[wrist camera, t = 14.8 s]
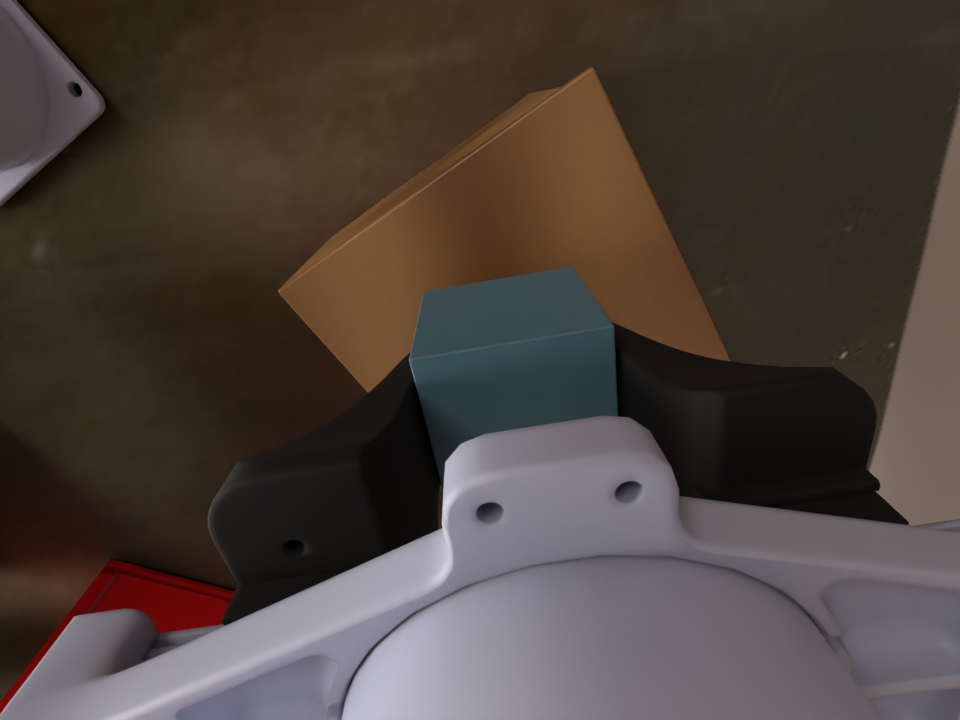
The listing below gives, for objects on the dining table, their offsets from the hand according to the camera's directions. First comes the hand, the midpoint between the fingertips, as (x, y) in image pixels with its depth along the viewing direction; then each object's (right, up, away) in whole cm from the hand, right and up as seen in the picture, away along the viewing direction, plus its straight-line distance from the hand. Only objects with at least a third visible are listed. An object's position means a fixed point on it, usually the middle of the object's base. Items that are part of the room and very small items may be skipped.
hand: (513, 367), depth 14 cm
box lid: (+1, +1, +3) cm, 4 cm away
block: (0, +1, +1) cm, 1 cm away
